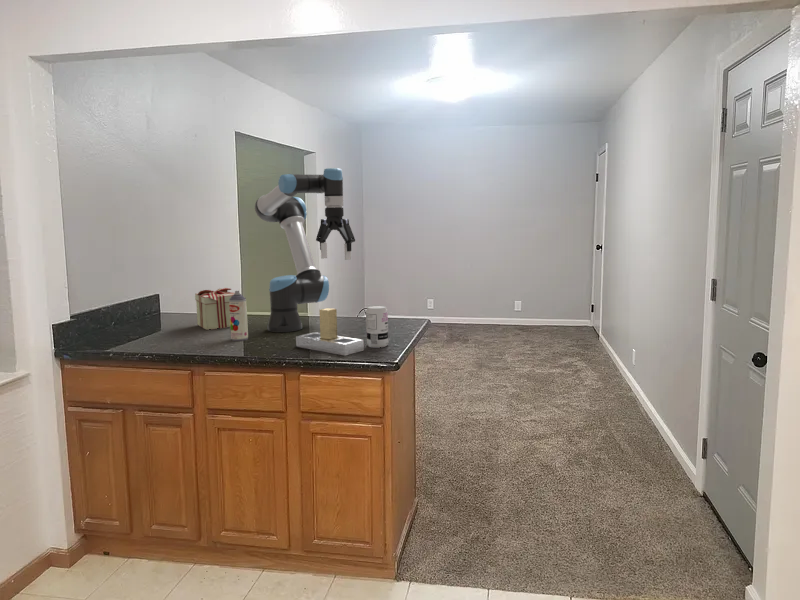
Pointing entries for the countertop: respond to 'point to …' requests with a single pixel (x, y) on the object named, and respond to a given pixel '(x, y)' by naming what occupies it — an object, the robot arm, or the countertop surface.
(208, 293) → the gift box
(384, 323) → the supplement can
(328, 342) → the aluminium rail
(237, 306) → the aerosol can
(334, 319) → the brass peg
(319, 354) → the countertop surface
